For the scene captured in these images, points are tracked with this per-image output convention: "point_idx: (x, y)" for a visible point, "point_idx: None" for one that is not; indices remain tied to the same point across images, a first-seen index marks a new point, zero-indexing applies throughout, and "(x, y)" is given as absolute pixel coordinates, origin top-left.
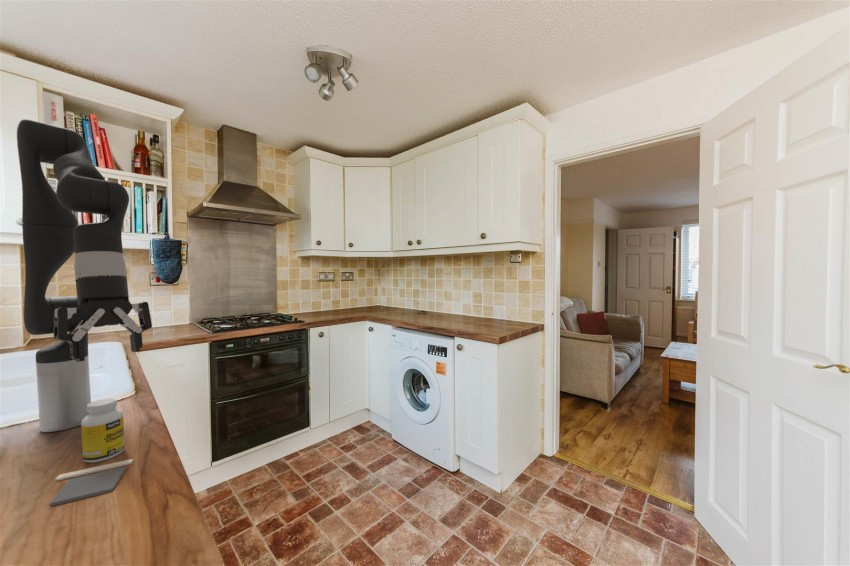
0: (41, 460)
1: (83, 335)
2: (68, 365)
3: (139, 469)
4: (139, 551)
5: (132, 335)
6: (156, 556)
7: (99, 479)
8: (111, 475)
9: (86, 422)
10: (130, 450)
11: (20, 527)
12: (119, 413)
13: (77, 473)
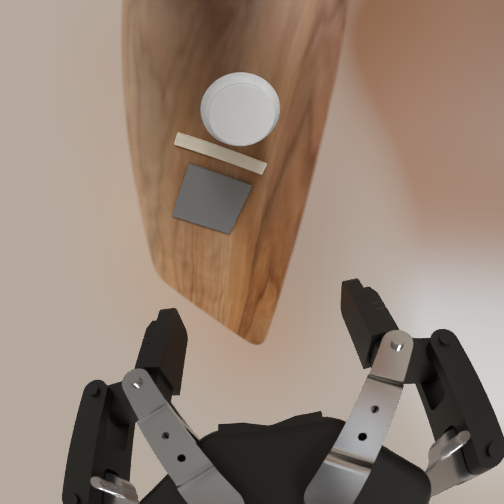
0: (159, 38)
1: (180, 416)
2: None
3: (265, 200)
4: (232, 325)
5: (365, 351)
6: (239, 334)
7: (220, 198)
8: (233, 199)
9: (207, 129)
10: None
11: (154, 235)
12: (270, 131)
13: (198, 149)
